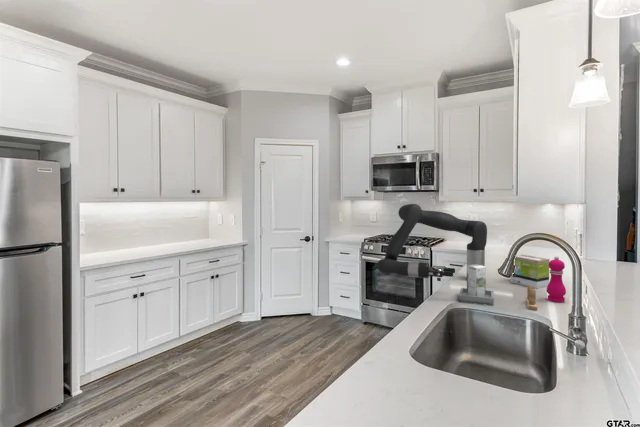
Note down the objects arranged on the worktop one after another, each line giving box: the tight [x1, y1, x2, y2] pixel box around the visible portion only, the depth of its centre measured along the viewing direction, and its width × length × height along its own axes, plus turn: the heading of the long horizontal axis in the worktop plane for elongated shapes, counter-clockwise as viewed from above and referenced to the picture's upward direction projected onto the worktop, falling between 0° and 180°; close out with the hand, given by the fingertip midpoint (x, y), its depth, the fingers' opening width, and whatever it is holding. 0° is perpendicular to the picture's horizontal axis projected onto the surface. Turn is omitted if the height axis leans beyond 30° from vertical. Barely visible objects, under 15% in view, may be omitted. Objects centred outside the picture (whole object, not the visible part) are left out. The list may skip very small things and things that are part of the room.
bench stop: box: [525, 285, 538, 311], centre depth 150 cm, size 14×3×8 cm, turn 154°
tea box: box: [510, 254, 550, 290], centre depth 185 cm, size 15×10×15 cm, turn 25°
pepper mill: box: [546, 255, 567, 303], centre depth 156 cm, size 7×7×20 cm
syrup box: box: [466, 265, 487, 297], centre depth 160 cm, size 6×6×14 cm
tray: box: [458, 287, 495, 306], centre depth 160 cm, size 14×14×3 cm
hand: (454, 272), depth 163 cm, fingers open, 8 cm apart
